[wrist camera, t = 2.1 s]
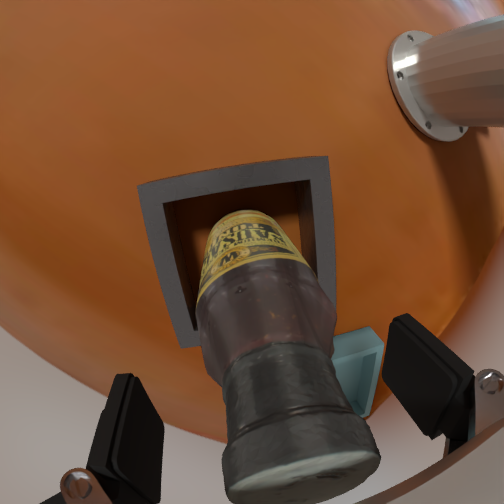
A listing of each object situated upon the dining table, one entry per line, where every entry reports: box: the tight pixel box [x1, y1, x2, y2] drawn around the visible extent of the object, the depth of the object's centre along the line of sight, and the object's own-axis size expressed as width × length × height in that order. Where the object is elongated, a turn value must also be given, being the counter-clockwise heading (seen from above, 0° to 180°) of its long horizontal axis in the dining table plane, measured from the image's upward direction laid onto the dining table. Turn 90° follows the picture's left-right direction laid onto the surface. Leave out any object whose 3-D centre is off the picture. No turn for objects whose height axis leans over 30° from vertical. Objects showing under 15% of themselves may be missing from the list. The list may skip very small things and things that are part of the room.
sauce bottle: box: [196, 209, 381, 504], centre depth 14 cm, size 6×6×20 cm
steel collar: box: [137, 156, 336, 348], centre depth 21 cm, size 13×13×4 cm
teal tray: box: [331, 326, 384, 418], centre depth 28 cm, size 13×13×4 cm
